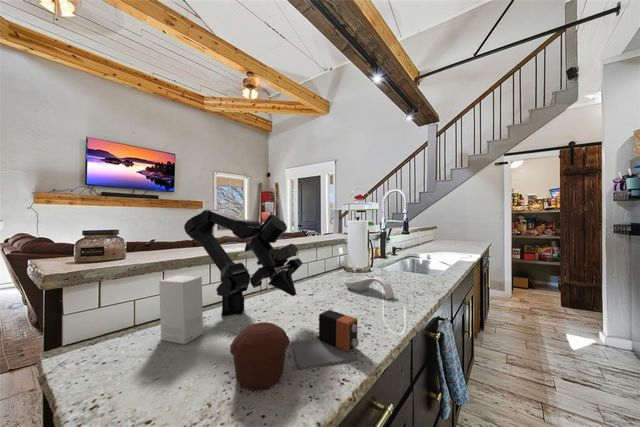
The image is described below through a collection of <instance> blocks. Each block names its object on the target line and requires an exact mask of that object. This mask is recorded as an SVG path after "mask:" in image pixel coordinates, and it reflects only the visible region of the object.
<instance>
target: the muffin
mask: <svg viewBox="0 0 640 427" xmlns="http://www.w3.org/2000/svg"><path fill="white" fill-rule="evenodd" d="M289 345H291V341H290V338H289V336H288V334H287V332H286V331H285V330H284V329H283V328H282V327H281V326H279V325H277V324H275V323H272V322H264V321H263V322H256V323H253V324H250V325H249V326H246V327H245V328H243V329H242V330H241V331H240V332H239V333H238V334H237V335H236V336H235V337H234V338H233V340H232V343H231V344H230V346H229V348H230V349H229V353H230V354H231V355H232V357H233V362H234V363H233V364H234V371H235V378H236V379H235V380H236V381H237V383H238V382H239V383H238V385H239V384H240V385H239V387H240V389H242V388H245V389H244V390H246V389H248V390H247V391H249V390H250V391H249V392H251V391H252V392H251V393H256V392H260V391H268V390H270V389H271V388H273V387H274V386H275V385H278V384H279V383H280V382H281V381H280V380H281V378H282V375H283V372H284V367H285V360H286V355H287V349H288V348H289ZM255 391H256V392H255Z"/></svg>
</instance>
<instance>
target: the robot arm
mask: <svg viewBox="0 0 640 427" xmlns="http://www.w3.org/2000/svg"><path fill="white" fill-rule="evenodd" d="M216 225H218V226H221V227H223V228H226V229H228V230H230V231H231V232H232V234H233V235H234V236H235V237H237V238H239V239H240V240H249V239H250V241H249V242H248V241H247V242H246V243H245V247H244V252H250V251H252V253H253V254H254V256H255V257H256V259H257V262H256V264H257V265H258V266H260V267H258V269H256V271H255V272H254V273H253V274H252V275H250V273H249V271H250V270H249V269H248V268H246V266H245V265H244V263H242V262H238V263H235V262H234V261H233V260H232V258H231V257H230V256H229V254H228V253H227V252H226V251H225V249H224V248H223V247H222V244H221V243H220V242H219V241H218V240H217V239H216V237H215V236H214V227H215V226H216ZM183 229H184V232H185V233H186V234H187V236H188V237H189V238H191V239H192V240H194V241H196V242H198V243H200V245H201V246H202V247H203V249H204V251H205V252H206V253H207V255H208V256H209V257H210V259H211V261H212V262H213V263H214V264H215V266H216V268H218V270H219V273H220V284H219V285H218V286H217V287H216V288H215V289H216V293H217V296H219V297H222V298H221V299H222V301H221V305H222V306H221V315H220V316H231V315H232V316H233V315H243V313H244V312H243V311H244V310H245V295H244V294H243V293H244V292H246V291H248V288H249V285H251V286H252V288H253V289H255V288H258V287H260V286H262V283H263V281H262V280H266V279H268V278H269V280H270V281H269V282H268V285H269V286H271V287H272V286H273V287H274V288H277V289H278V290H281V291H282V292H284V293H287V294H288V295H290V296H291V297H294V296H297V290H296V288H295V284H294V280H293V276H292V275H293V274H295V272H297V270H299V268H300V267H301V266H302V265H303V262H302V260H301V259H300V258H296V257H297V254H298V249H299V248H298V247H297V245H295V244H294V243H289V244H288V245H286V246H284V247H282V248H274V247H273V246H272V243H273V244H275V243H276V242H277V241H279V239H280V238H281V237H282V235H284V233H285V232H286V231H287V229H288V226H287V224H286V223H285V221H283V220H281V219H280V218H278V217H277V216H276V215H274V214H269V215H268V216H267V217H266V219H265V220H264V222H263V223H262V224H261V222H260V221H258V220H255V219H253V220H252V219H244V218H243V219H242V218H238V217H235V216H233V215H231V214H227V213H224V212H222V211H220V210H218V209H207V208H206V209H205V210H203V211H202V212H200V213H199V214H195V215H194V216H192V217H191V218H190V219H187V221H186V222H185V224H184V226H183ZM292 257H295V258H292ZM290 258H292V259H290ZM288 259H289V260H288ZM261 266H262V267H261Z"/></svg>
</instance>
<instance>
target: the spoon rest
mask: <svg viewBox="0 0 640 427" xmlns="http://www.w3.org/2000/svg"><path fill="white" fill-rule="evenodd" d="M374 282H377V283H379V284H380V285H381V286H382V287H383V290H384V297H385V300H391V299H394V298H395V294H394V289H393V287H392V286H391V284H390V283H389V282H388V281H387V280H385V279H384V278H383V277H380V276H375V277H371V278H366V277H352V278H347V279H344V280H343V283H344V285H345V286H346V287H347V288H349V289H350V290H352V291H356V292H357V291H358V292H359V291H360V292H361V291H362V290H363V291H366V289H367V288H369V287H370V285H371V284H372V283H374Z"/></svg>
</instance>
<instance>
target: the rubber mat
mask: <svg viewBox="0 0 640 427" xmlns="http://www.w3.org/2000/svg"><path fill="white" fill-rule="evenodd" d="M290 346H291V348H292V352H293V354H294V357H295V360H296V363H297V366H298V369H299V370H305V369H313V368H318V367H324V366H330V365H336V364H341V363H342V364H343V363H347V362H348V363H349V362H353V361H358V357H357V356H356V355H355V354H354V353H353V351H352V350H350V351H349V352H346V351H343V350H341V349H339V348H336V347H334V346H332V345H329V344H327V343H325V342H322V341H320V340H319V337H317V338H310V339H304V340H303V339H302V340H295V341H290Z"/></svg>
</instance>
